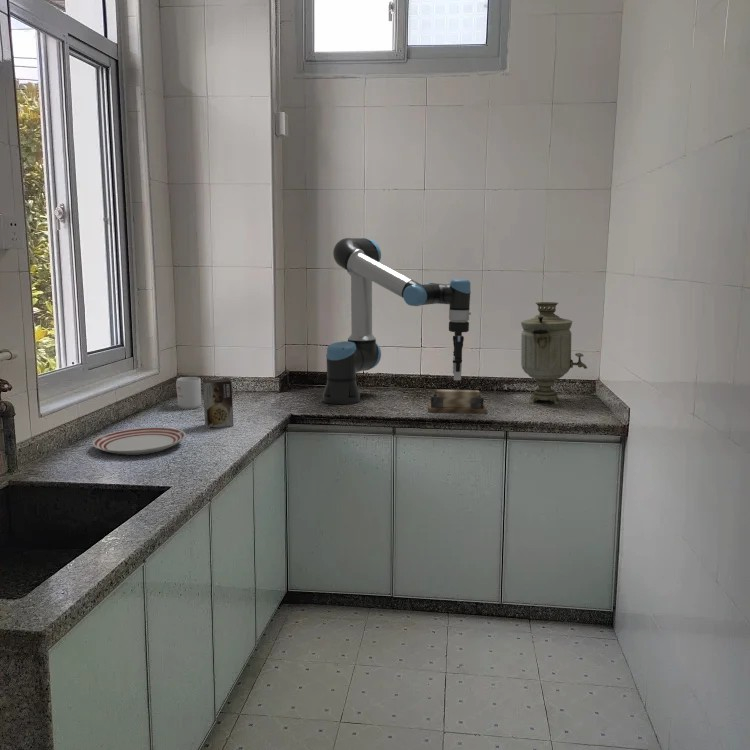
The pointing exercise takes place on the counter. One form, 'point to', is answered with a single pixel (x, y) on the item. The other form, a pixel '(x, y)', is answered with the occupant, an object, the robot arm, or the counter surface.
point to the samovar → (547, 350)
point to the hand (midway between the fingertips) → (456, 376)
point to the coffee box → (218, 402)
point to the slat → (457, 397)
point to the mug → (189, 392)
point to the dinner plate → (139, 440)
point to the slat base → (475, 407)
